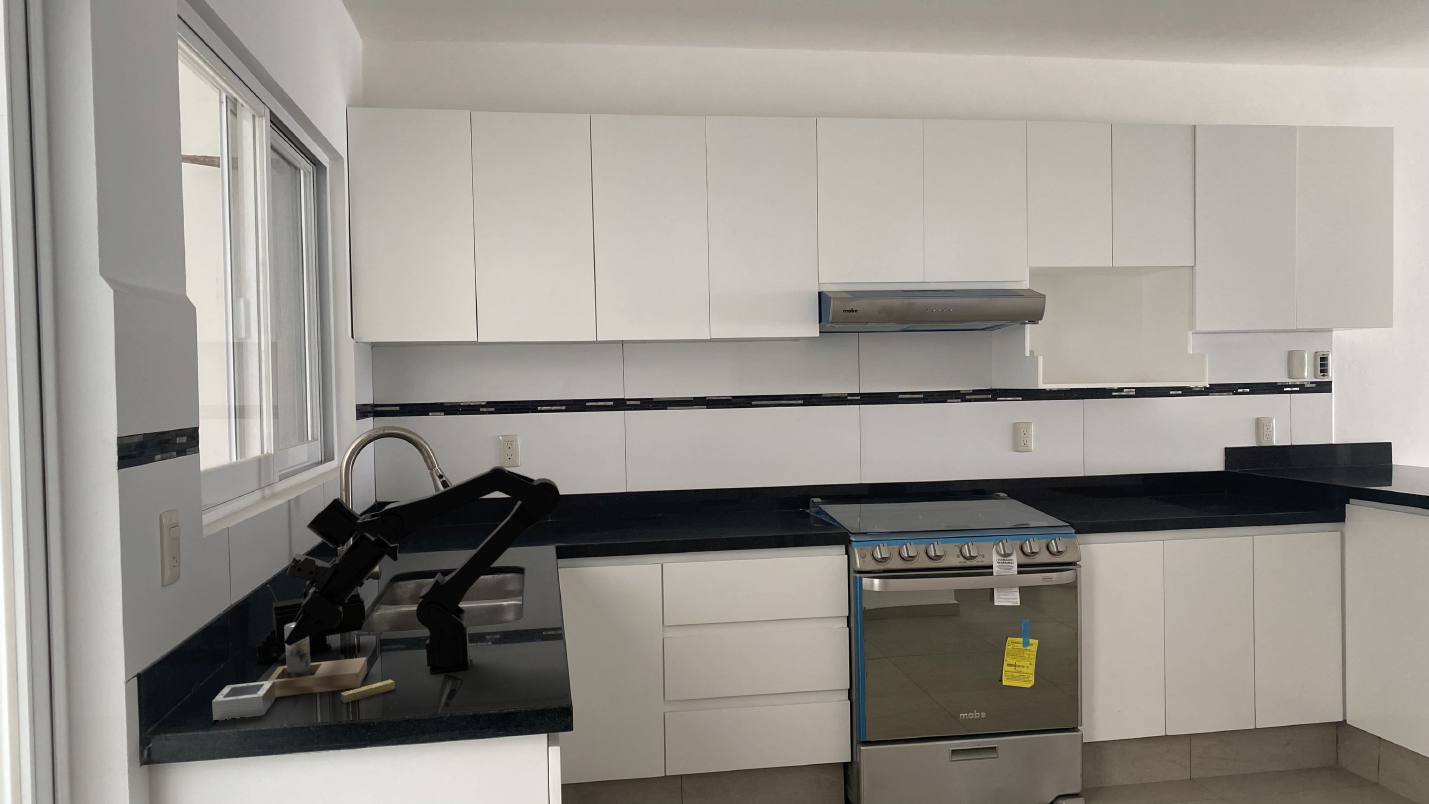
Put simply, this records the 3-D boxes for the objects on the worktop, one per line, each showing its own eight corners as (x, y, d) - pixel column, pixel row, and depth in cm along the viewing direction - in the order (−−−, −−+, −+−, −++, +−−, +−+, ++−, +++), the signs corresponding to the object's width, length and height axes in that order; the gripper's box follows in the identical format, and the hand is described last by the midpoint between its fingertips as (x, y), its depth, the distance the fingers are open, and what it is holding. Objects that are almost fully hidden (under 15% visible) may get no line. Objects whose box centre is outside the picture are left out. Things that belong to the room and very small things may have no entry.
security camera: (256, 657, 166) (253, 603, 166) (362, 638, 176) (359, 587, 175) (259, 667, 160) (255, 611, 160) (368, 647, 170) (365, 594, 169)
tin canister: (315, 682, 151) (311, 621, 151) (306, 690, 148) (303, 627, 147) (293, 684, 151) (289, 622, 151) (284, 691, 148) (280, 628, 147)
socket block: (275, 698, 144) (274, 680, 144) (263, 715, 137) (262, 695, 137) (227, 704, 142) (226, 685, 142) (213, 721, 136) (212, 701, 136)
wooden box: (367, 671, 155) (366, 657, 155) (359, 687, 148) (358, 672, 148) (279, 681, 152) (278, 666, 152) (267, 697, 145) (266, 682, 145)
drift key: (390, 686, 147) (390, 679, 147) (394, 688, 146) (394, 681, 146) (341, 700, 142) (340, 693, 142) (344, 703, 141) (344, 695, 141)
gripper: (317, 527, 158) (251, 598, 155) (314, 545, 141) (240, 625, 137) (368, 565, 162) (305, 635, 158) (371, 588, 145) (300, 667, 141)
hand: (287, 640), depth 149 cm, fingers open, 4 cm apart
